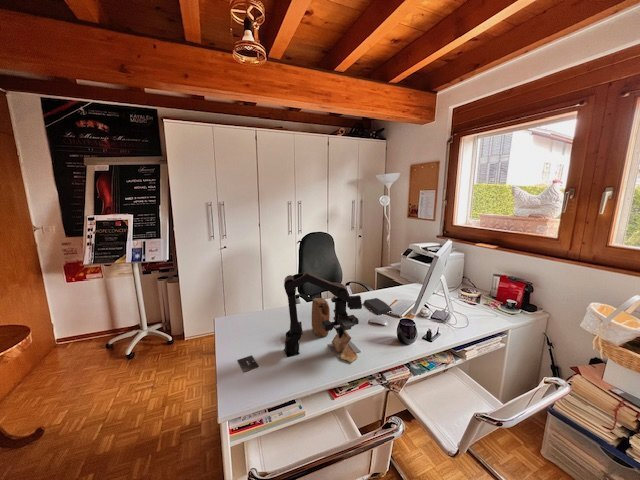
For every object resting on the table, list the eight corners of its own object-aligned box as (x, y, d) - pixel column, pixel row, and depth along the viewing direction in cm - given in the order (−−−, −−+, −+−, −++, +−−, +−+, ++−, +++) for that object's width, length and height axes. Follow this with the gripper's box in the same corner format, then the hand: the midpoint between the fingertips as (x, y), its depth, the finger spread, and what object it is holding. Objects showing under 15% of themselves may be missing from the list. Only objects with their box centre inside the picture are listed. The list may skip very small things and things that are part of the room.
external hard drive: (377, 301, 195) (378, 296, 194) (393, 313, 177) (394, 307, 176) (362, 304, 190) (362, 299, 189) (377, 316, 172) (377, 310, 172)
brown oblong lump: (310, 330, 153) (310, 298, 150) (321, 327, 157) (322, 295, 153) (319, 339, 144) (319, 305, 140) (331, 335, 148) (331, 302, 144)
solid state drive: (251, 356, 129) (251, 355, 129) (258, 367, 121) (258, 366, 121) (237, 361, 125) (237, 359, 125) (243, 373, 117) (243, 371, 117)
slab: (336, 350, 130) (347, 335, 130) (331, 342, 138) (340, 327, 138) (341, 353, 131) (351, 338, 132) (335, 344, 139) (345, 330, 139)
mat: (338, 358, 128) (338, 357, 128) (327, 345, 139) (327, 344, 139) (360, 352, 133) (360, 351, 133) (348, 339, 144) (348, 339, 144)
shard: (348, 346, 137) (348, 343, 136) (362, 351, 133) (362, 348, 133) (339, 358, 127) (339, 355, 127) (354, 364, 124) (354, 360, 123)
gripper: (330, 320, 120) (330, 351, 123) (365, 312, 127) (364, 342, 130) (320, 310, 130) (320, 338, 133) (353, 303, 137) (352, 331, 140)
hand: (339, 337), depth 133 cm, fingers closed
